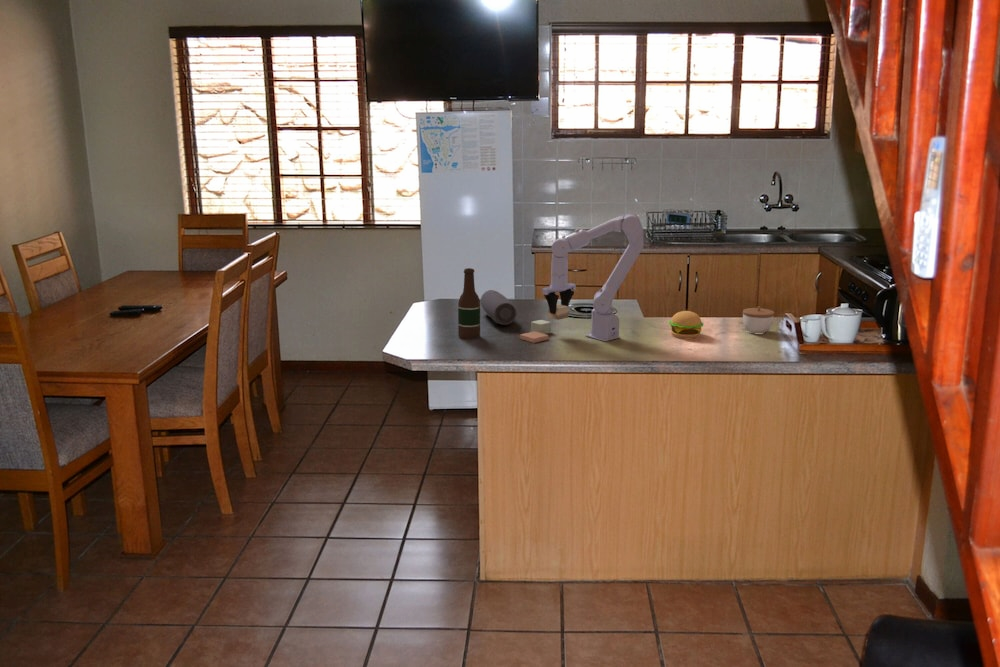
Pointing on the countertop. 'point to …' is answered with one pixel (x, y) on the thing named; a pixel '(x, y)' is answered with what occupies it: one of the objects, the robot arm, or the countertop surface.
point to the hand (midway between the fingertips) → (558, 312)
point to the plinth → (534, 337)
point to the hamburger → (686, 325)
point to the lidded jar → (757, 319)
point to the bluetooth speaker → (498, 307)
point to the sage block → (541, 326)
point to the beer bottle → (469, 308)
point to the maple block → (559, 312)
